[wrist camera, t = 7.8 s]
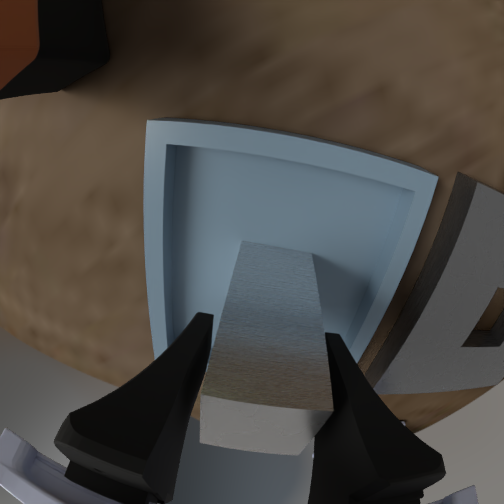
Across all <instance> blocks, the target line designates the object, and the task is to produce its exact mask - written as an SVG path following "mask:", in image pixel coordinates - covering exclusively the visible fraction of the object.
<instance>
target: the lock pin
mask: <svg viewBox="0 0 504 504" xmlns="http://www.w3.org/2000/svg"><path fill="white" fill-rule="evenodd" d="M333 411H334V410H333V399H332V390H331V381H330V372H329V364H328V355H327V348H326V340H325V333H324V326H323V319H322V312H321V306H320V299H319V293H318V287H317V281H316V275H315V269H314V264H313V258H312V253H309V252H304V251H298V250H293V249H287V248H281V247H276V246H270V245H264V244H259V243H253V242H247V241H242V242H241V245H240V249H239V253H238V256H237V260H236V264H235V267H234V271H233V275H232V278H231V282H230V286H229V289H228V293H227V297H226V300H225V304H224V308H223V312H222V315H221V319H220V323H219V327H218V330H217V334H216V338H215V342H214V345H213V349H212V353H211V357H210V361H209V364H208V368H207V372H206V376H205V380H204V384H203V388H202V391H201V404H200V443H204V444H209V445H214V446H220V447H225V448H232V449H238V450H246V451H253V452H262V453H272V454H284V455H299V454H300V453H301V452H302V450H303V449H304V448H305V447H306V445H307V444H308V443H309V442H310V441H311V440H312V438H313V437H314V436H315V435H316V433H317V432H318V431H319V430H320V428H321V427H322V426H323V425H324V423H325V422H326V421H327V419H328V418H329V417H330V415H331V414H332V413H333Z"/></svg>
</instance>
